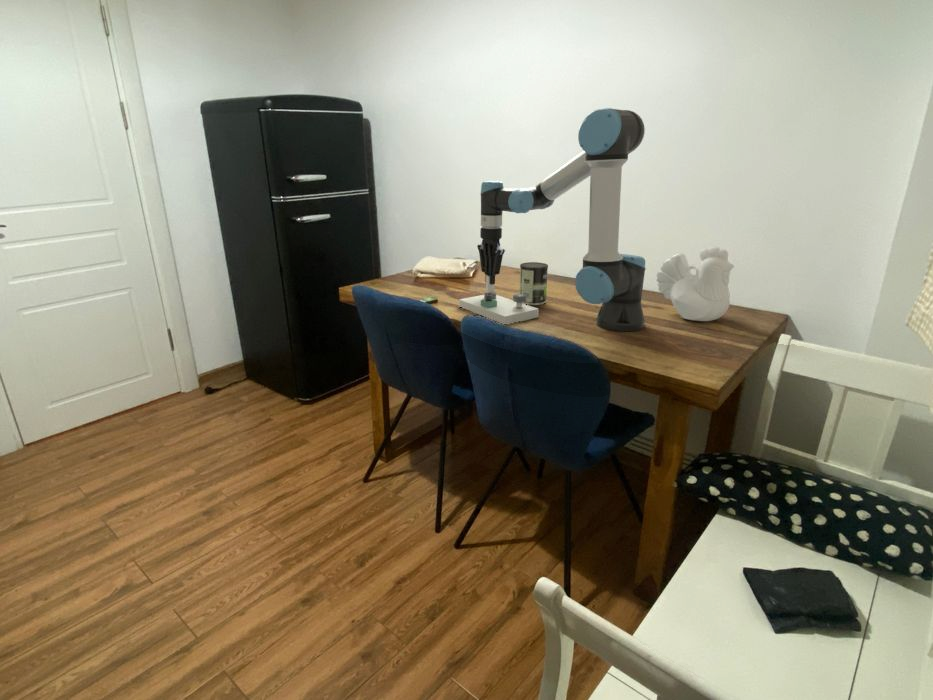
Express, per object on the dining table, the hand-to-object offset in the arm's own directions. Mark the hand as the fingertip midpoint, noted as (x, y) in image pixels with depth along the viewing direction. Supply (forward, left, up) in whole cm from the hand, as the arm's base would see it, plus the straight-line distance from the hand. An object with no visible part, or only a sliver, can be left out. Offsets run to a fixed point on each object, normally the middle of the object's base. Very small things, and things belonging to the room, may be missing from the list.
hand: (489, 292), depth 199 cm
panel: (-8, +3, -5) cm, 10 cm away
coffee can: (-5, -17, -5) cm, 18 cm away
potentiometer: (-8, +7, -2) cm, 11 cm away
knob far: (0, 0, -5) cm, 5 cm away
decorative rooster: (-51, -48, -5) cm, 70 cm away
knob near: (-16, 0, -2) cm, 16 cm away
